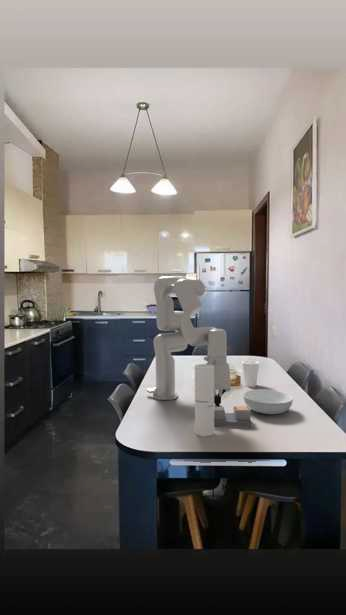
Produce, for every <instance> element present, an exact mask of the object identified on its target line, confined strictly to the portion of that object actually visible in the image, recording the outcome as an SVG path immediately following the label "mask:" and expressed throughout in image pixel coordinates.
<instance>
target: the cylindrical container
mask: <svg viewBox="0 0 346 615" xmlns="http://www.w3.org/2000/svg"><path fill="white" fill-rule="evenodd" d="M194 433H195V434H196V435H197V436H200V437H210V436H213V435H214V434H215V427H214V366H213V365H209V364H206V363H201V364H200V363H199V364H195V365H194Z"/></svg>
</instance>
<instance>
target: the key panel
mask: <svg viewBox="0 0 346 615" xmlns="http://www.w3.org/2000/svg"><path fill="white" fill-rule="evenodd" d="M236 406H237V405H235V406H233V412H226V411H225V406H223V411H214V428H215V427H217V428H252V426H253V424H252V423H253V422H252V420H251V408H249V407H248V406H247V405H246V406H247V408H248V411H236Z"/></svg>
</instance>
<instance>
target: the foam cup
mask: <svg viewBox="0 0 346 615" xmlns="http://www.w3.org/2000/svg"><path fill="white" fill-rule="evenodd" d="M241 367H242V374H243V375H242V376H243V381H244V387H247V388H254V387H256V386H257V382H258V375H259V369H260V361H257V360H242V361H241Z"/></svg>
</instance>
